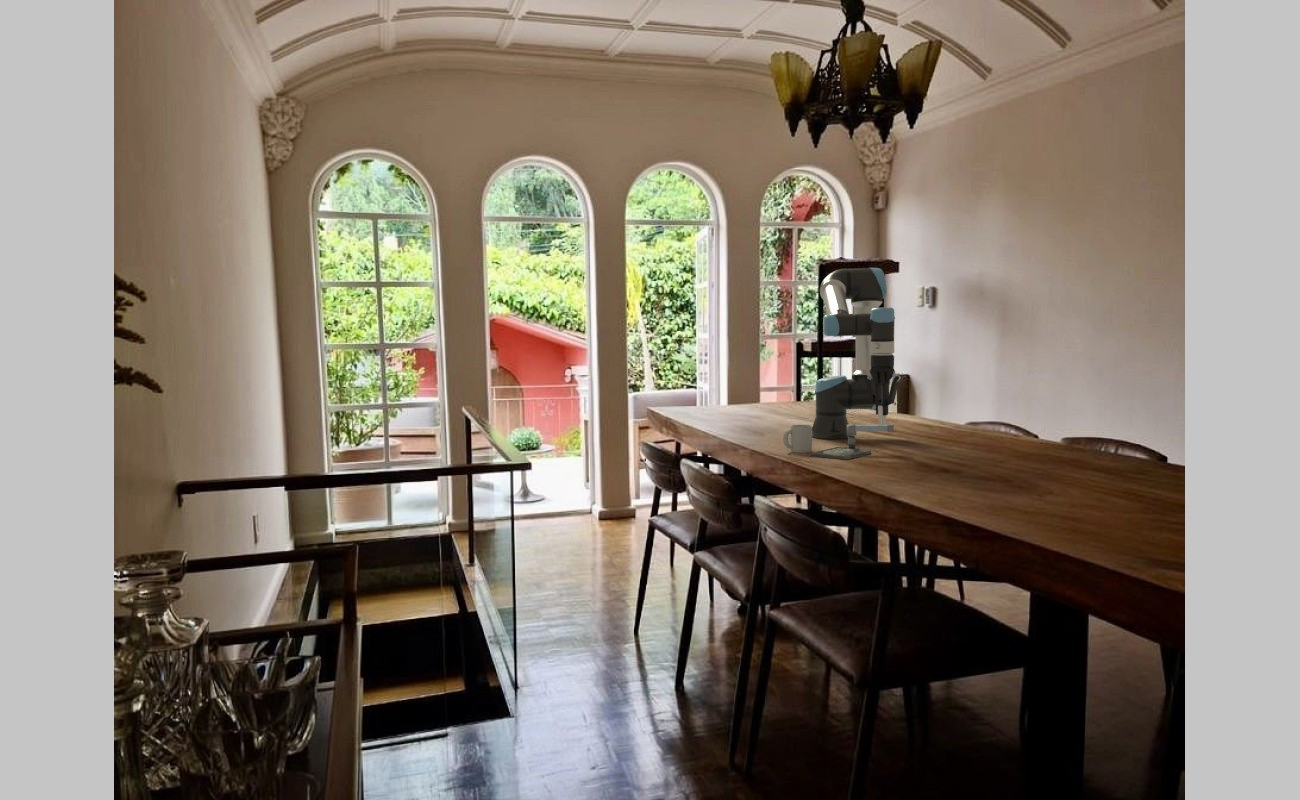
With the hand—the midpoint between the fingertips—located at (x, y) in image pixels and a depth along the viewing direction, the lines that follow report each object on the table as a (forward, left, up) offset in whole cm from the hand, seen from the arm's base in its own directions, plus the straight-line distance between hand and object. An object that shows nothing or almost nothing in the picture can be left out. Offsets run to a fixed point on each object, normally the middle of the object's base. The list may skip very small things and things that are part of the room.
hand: (881, 424), depth 269 cm
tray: (+9, -10, -10) cm, 17 cm away
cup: (+12, -25, -10) cm, 30 cm away
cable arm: (0, -5, -4) cm, 6 cm away
